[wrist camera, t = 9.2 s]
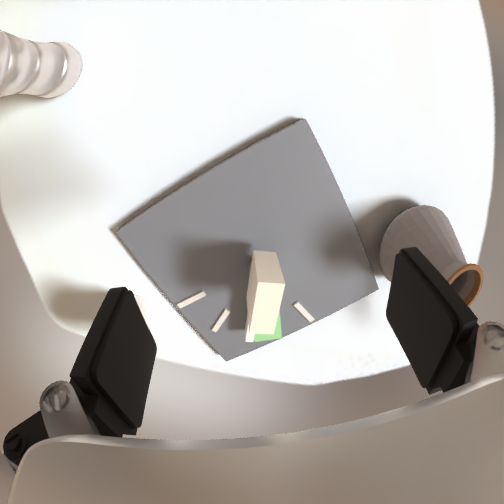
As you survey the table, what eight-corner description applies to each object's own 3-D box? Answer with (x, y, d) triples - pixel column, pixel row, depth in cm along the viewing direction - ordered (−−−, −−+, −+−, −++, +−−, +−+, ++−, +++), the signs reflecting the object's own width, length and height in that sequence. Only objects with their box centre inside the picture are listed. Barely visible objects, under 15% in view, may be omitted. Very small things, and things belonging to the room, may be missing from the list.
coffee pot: (358, 227, 35) (420, 298, 22) (428, 182, 33) (509, 230, 19) (400, 327, 44) (440, 395, 30) (454, 291, 41) (503, 349, 28)
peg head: (252, 241, 33) (257, 282, 26) (273, 242, 33) (285, 283, 26) (239, 329, 39) (241, 377, 31) (257, 331, 39) (262, 378, 32)
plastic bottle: (75, 103, 26) (-62, 126, 8) (35, 90, 24) (-95, 110, 6) (97, 51, 23) (-32, 21, 5) (55, 41, 21) (-71, 23, 4)
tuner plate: (302, 118, 29) (306, 119, 27) (374, 283, 39) (379, 290, 37) (120, 227, 33) (114, 234, 31) (226, 354, 43) (226, 362, 42)
